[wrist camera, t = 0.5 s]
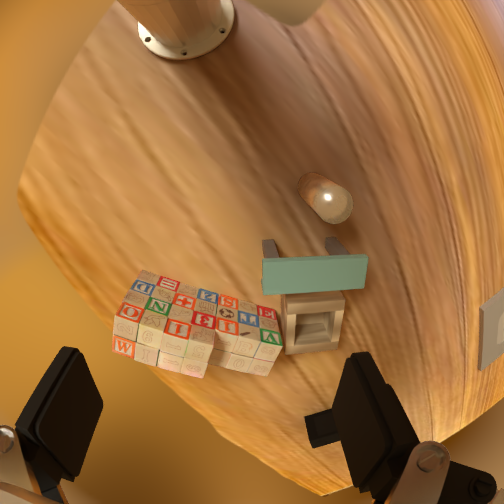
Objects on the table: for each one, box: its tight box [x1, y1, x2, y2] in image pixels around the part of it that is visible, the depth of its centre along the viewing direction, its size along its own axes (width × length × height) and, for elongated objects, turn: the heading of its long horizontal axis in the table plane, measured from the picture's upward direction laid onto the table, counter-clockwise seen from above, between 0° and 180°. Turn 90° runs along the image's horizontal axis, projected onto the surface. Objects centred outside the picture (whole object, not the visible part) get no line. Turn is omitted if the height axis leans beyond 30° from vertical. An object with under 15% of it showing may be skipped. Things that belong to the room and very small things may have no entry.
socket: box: [280, 290, 346, 355], centre depth 43 cm, size 9×8×6 cm
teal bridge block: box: [261, 237, 369, 295], centre depth 37 cm, size 4×12×10 cm, turn 91°
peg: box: [298, 173, 353, 224], centre depth 34 cm, size 4×4×10 cm
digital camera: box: [304, 409, 340, 448], centre depth 55 cm, size 10×5×7 cm, turn 108°
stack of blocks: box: [112, 270, 283, 378], centre depth 39 cm, size 21×6×12 cm, turn 71°
